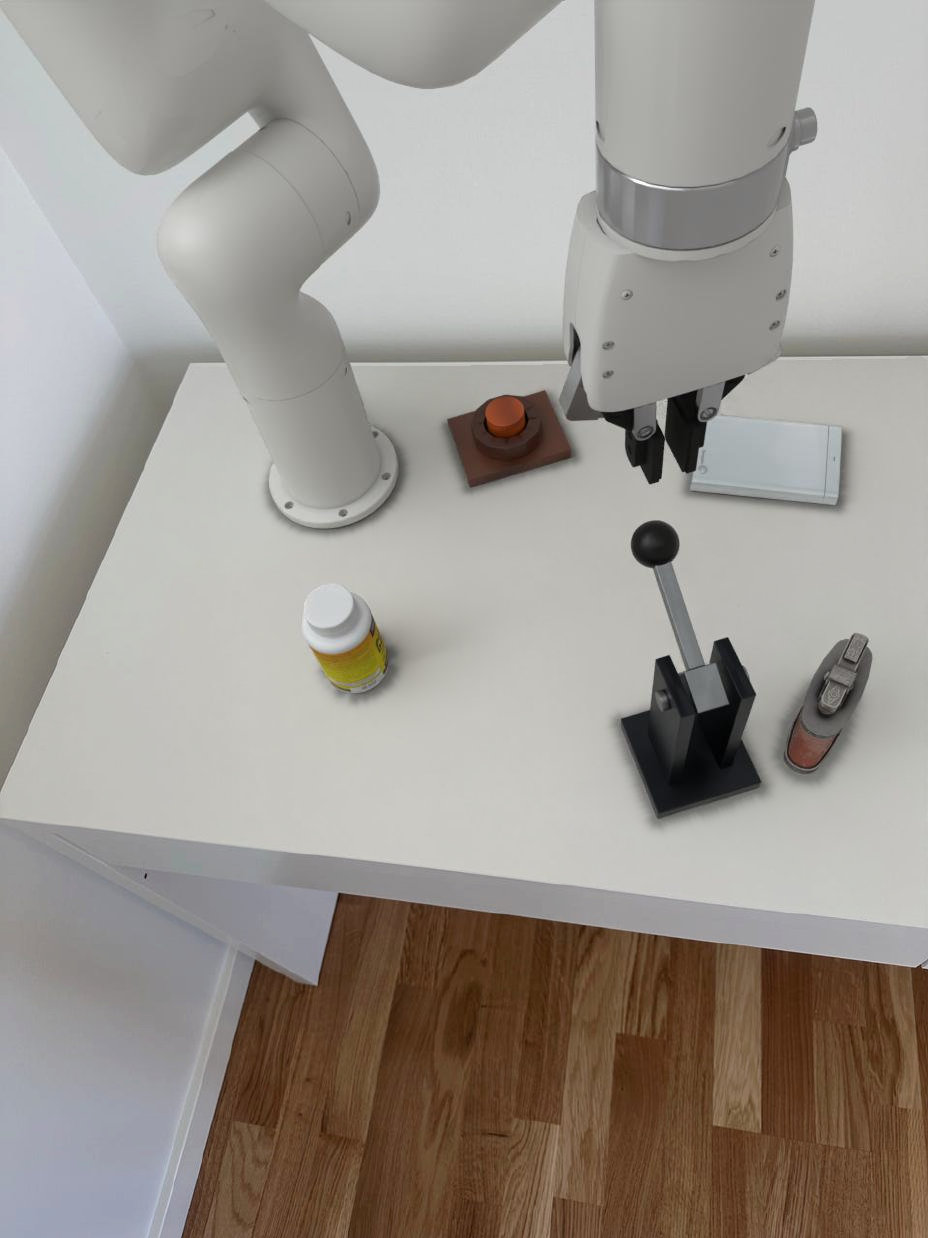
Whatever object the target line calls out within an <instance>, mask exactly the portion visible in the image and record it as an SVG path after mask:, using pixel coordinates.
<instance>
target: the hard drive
mask: <svg viewBox="0 0 928 1238" xmlns="http://www.w3.org/2000/svg"><path fill="white" fill-rule="evenodd" d="M842 439H843V425H837V424H828V423H827V424H826V423H815V422H814V423H812V422H802V421H792V420H782V419H771V418H757V417H747V416H746V417H745V416H735V415H726V414H725V415H724V414H717V415H716V417H714V418H713V419H712V420H710V421H707V426H706V433H705V440H704V446H703V447H701V448H699V452H698V459H697V467H696V471H694V472H691V473H692V474H691V480H690V486H689V487H690V488H689V491H693V492H701V493H712V494H723V495H730V496H738V497H739V496H741V497H751V498H761V499H770V500H780V501H790V502H792V501H793V502H802V503H812V504H821V505H830V506H836V505H837V503H838V501H839V495H840V481H841V480H840V479H841V460H842V441H843V440H842Z"/></svg>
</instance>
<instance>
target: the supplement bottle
mask: <svg viewBox="0 0 928 1238" xmlns="http://www.w3.org/2000/svg"><path fill="white" fill-rule="evenodd" d="M367 603H368V602H366V600H365V599H364V598H362V597H361V596H360V595H359V594H357V593H354V592H353V591H350V590H349V589H348V587H346V586H344V585H343V584H339V583H325V584H322V585H320V586H318V587H316V588H314V589H313V590H312V591H310V593H309V594H308V595H307V596H306V598H305V600H304V603H303V609H302V611H303V615H302V619H301V634H302V636H303V638H304V640H305V642H306V643H307V645H308V648H310V650H311V652H312V653H313V655H314V658H315V659H316V661H317V662H318V664H319V666H320V668H321V670H322V671H323V673H324V675H325V676H326V678H327V680H328V681H329V682H330V684H331V685H332V686H334V688H336V689H337V690H339V691H341V692H343V693H344V692H345V693H348V694H361V693H364V692H367V691H369V690H371V689H373V688H375V687H376V686H378V684H380V683H381V682H382V680H383V679H384V678H385V676H386V675H387V672H388V670H389V667H390V666H389V665H390V655H389V651H388V649H387V646H386V643H385V641H384V640H383V637H382V634H381V631H380V629H379V627H378V625H377V623H376V620H375V618H374V616H373V613H372V610H371V609H370V607H369V605H368V604H367Z"/></svg>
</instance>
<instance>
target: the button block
mask: <svg viewBox="0 0 928 1238" xmlns="http://www.w3.org/2000/svg"><path fill="white" fill-rule="evenodd" d="M500 397H513V398H516V399H518V400H519V401H520V402H521V403H522V404H523V406H524V412H525V426H524V428H523V430H522V431H521V432H520V433H519V434H517V435H516V436H513V437H510V438H499V437H496V436H494V435H493V434H491V432H490V431H489V430H488V427H487V421H486V415H485V411H486V408H487V406H488V405H489V404H490V403H491V402H492V401H493V400H495V399H497V398H500ZM446 421H447V425H448V426H447V427H448V430H449V432H450V436H451V438H452V440H453V443H454V447H455V449H456V453H457V455H458V458H459V460H460V463H461V466H462V470H463V472H464V475H465V478H466V481H467V483H468V486H469V488H473V487H478V486H480V485H483V484H488V483H491V482H493V481H497V480H500V479H501V480H502V479H504V478H507V477H510V476H514V475H517V474H521V473H524V472H528V471H531V470H534V469H537V468H541V467H544V466H547V465H550V464H551V465H552V464H554V463H557V462H561V461H565V460H568V459H570V458H572V448H571V446H570V443H569V441H568V439H567V436H566V435H565V432H564V429H563V427H562V425H561V422H560V421H559V418H558V416H557V414H556V411H555V409H554V407H553V405H552V403H551V400H550V398H549V396H548V393H547V391H546V389H544V390H541V391H537V392H534V393H530V394H527V395H524V396H522V395H515V394H502V395H499V396H495V397H493V398H488V399H487V400H485V401H484V402H483V403H482V404H481V405H480V406H479V407H477V408H476V409H475V410H473V411H470V412H466V413H463V414H460V415H459V414H458V415H456V416H453V417H449V418H446Z"/></svg>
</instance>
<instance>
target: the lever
mask: <svg viewBox="0 0 928 1238" xmlns="http://www.w3.org/2000/svg"><path fill="white" fill-rule="evenodd" d="M680 543H681V542H680V537H679V534H678V532H677V531H676V529H675V527H673V526H672V525H671V524H670V523H668V522H666V521H663V520H657V519H653V520H648V521H646V522H643V523H642V524H640V525H639V526H638V527H636V529H635V530H634V532H633V534H632V536H631V538H630V550H631V554H632V556H633V558H634V560H635V561H636V562H637V563H638V564H640V565H641V566H643V567H645V568H648V569H652V571H653V573H654V578H655V580H656V583H657V586H658V590H659V592H660V595H661V599H662V602H663V605H664V608H665V611H666V614H667V617H668V620H669V623H670V626H671V629H672V633H673V635H674V638H675V641H676V644H677V647H678V650H679V654H680V657H681V660H682V662H683V666H684V669H685V670H683V671H679V672H678V675H679V677H680V679H681V681H682V684H683V686H684V688H685V690H686V693H687V695H688V697H689V699H690V702H691V704H692V706H693V708H694V711H695V714H699V713H702V712H705V711H708V710H712V709H715V708H718V707H722V706H725V705H728V704H729V700H728V697H727V694H726V691H725V688H724V685H723V682H722V679H721V676H720V673H719V669H718V666H717V663H710V664H709V663H705V660H704V657H703V653H702V651H701V648H700V645H699V642H698V639H697V636H696V632H695V630H694V627H693V623H692V621H691V618H690V614H689V611H688V608H687V606H686V602H685V599H684V596H683V594H682V590H681V587H680V585H679V581H678V578H677V575H676V572H675V569H674V566H673V561H674V560H675V559H676V558H677V556H678V554H679V551H680Z"/></svg>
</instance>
